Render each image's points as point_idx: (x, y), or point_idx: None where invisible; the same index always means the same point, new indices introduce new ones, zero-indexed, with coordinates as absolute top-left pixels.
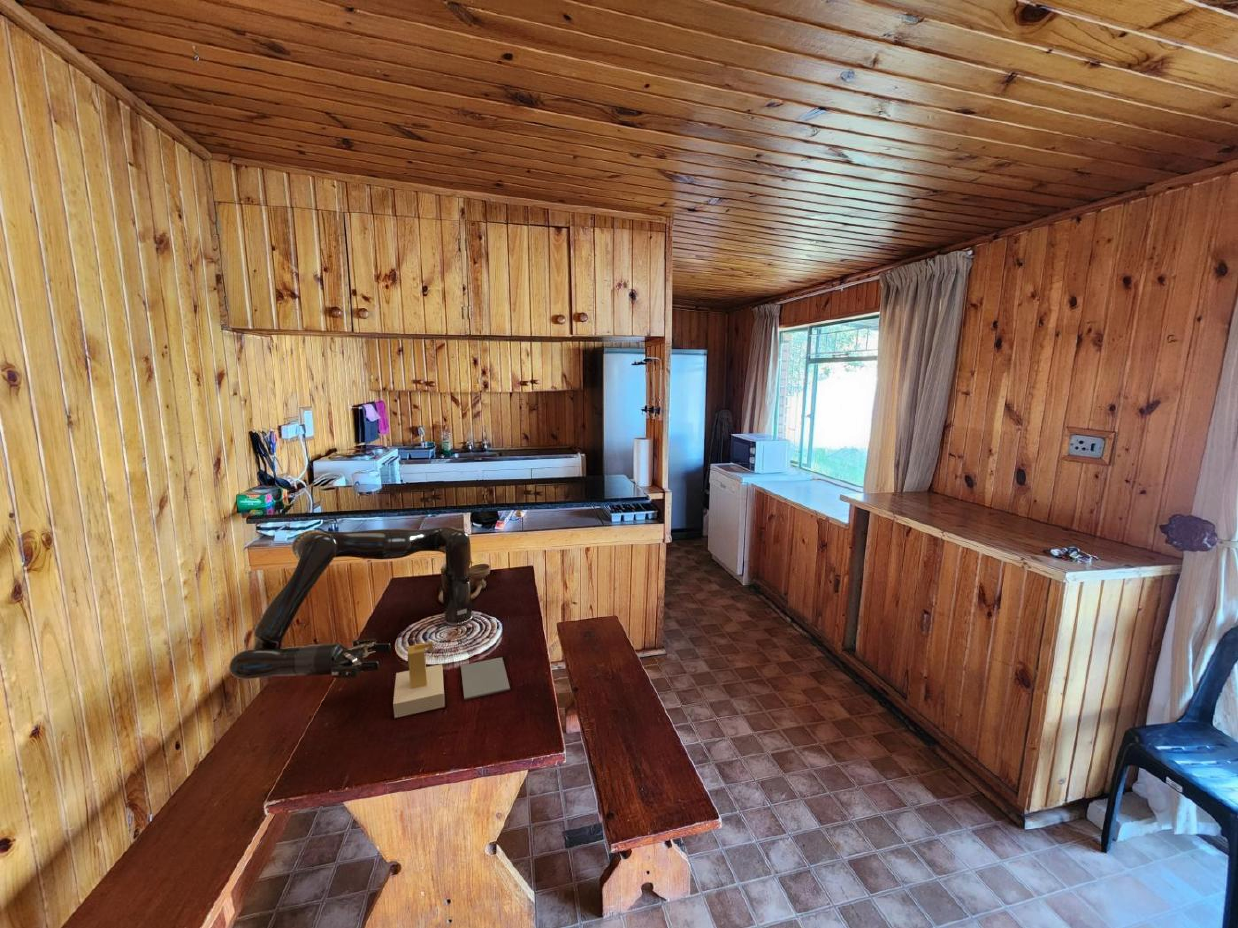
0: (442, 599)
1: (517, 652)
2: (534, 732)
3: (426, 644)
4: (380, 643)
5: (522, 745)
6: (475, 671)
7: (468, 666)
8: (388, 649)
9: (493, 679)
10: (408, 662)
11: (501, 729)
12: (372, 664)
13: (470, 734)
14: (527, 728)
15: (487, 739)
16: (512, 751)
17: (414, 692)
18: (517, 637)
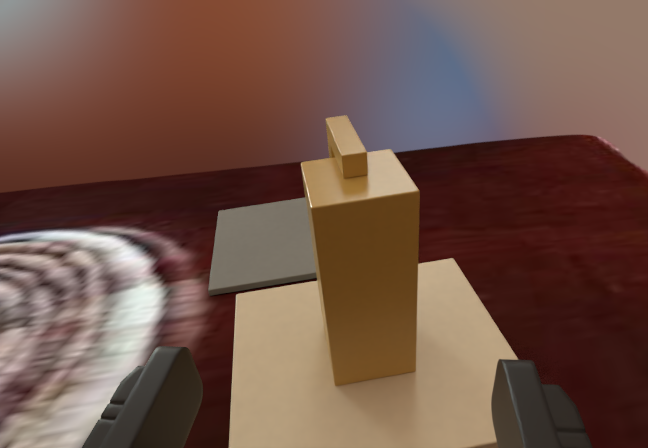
0: None
1: (205, 195)
2: (536, 153)
3: (353, 128)
4: (116, 427)
5: (584, 161)
6: (268, 251)
7: (227, 270)
8: (196, 388)
9: None
10: (418, 244)
11: (539, 189)
12: (556, 404)
13: (576, 231)
14: (525, 160)
15: (585, 203)
16: (610, 170)
17: (449, 350)
18: (126, 201)
